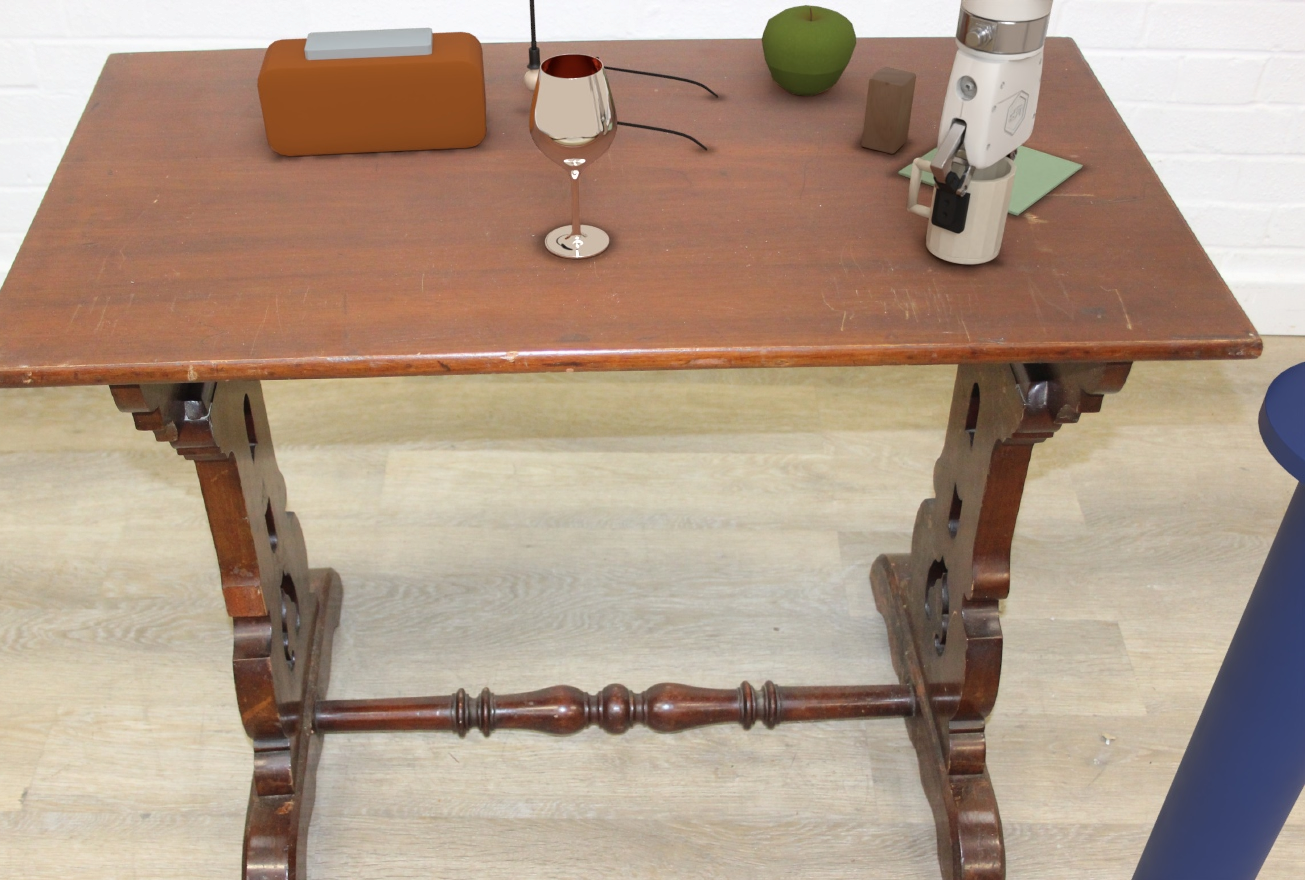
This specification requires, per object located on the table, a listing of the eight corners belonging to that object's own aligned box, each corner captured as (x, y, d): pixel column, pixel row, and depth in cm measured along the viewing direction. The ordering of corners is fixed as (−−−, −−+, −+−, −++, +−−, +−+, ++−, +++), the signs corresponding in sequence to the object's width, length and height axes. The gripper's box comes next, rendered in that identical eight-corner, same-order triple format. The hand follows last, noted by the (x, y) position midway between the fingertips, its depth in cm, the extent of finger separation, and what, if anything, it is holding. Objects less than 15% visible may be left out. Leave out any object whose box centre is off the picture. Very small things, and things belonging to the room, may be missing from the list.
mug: (1013, 243, 129) (1030, 162, 123) (976, 272, 125) (992, 189, 119) (923, 211, 134) (935, 132, 128) (885, 238, 130) (896, 157, 124)
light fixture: (564, 119, 153) (556, -108, 137) (506, 120, 153) (492, -108, 137) (566, 95, 158) (559, -127, 142) (510, 95, 158) (497, -126, 142)
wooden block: (893, 155, 145) (903, 85, 140) (859, 147, 147) (868, 77, 141) (907, 141, 147) (918, 72, 142) (874, 133, 149) (883, 64, 144)
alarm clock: (487, 116, 154) (480, 19, 147) (487, 148, 148) (480, 48, 141) (278, 125, 153) (261, 28, 146) (269, 158, 147) (251, 58, 139)
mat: (1082, 167, 142) (1082, 165, 142) (1017, 215, 134) (1017, 213, 134) (966, 130, 149) (966, 127, 149) (898, 174, 142) (898, 171, 141)
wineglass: (539, 266, 128) (530, 87, 116) (531, 225, 134) (522, 51, 123) (623, 260, 129) (623, 81, 117) (611, 219, 135) (610, 45, 123)
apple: (756, 107, 155) (761, 22, 148) (760, 71, 163) (766, -11, 156) (850, 111, 154) (860, 26, 147) (850, 75, 162) (859, -8, 155)
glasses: (593, 90, 159) (597, 50, 156) (715, 110, 158) (722, 70, 155) (572, 143, 148) (576, 101, 145) (704, 165, 148) (711, 123, 144)
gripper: (990, 69, 108) (956, 261, 119) (1088, 9, 118) (1048, 191, 129) (910, 47, 112) (884, 234, 123) (1011, -10, 122) (979, 169, 133)
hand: (968, 211), depth 126 cm, fingers closed on mug, 7 cm apart
